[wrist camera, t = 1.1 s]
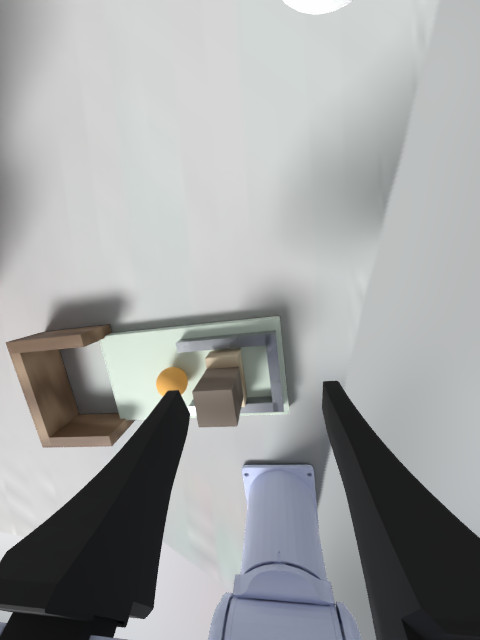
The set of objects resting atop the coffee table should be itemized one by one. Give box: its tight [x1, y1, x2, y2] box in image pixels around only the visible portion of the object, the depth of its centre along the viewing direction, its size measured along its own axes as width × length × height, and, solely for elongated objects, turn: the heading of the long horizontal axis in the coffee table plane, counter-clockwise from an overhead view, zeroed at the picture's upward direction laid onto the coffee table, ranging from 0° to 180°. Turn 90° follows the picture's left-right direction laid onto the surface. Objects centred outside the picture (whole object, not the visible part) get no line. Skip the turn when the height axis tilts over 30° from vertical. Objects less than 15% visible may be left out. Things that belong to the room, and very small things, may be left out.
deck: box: [99, 316, 289, 420], centre depth 24 cm, size 10×19×1 cm, turn 98°
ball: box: [156, 367, 188, 396], centre depth 23 cm, size 3×3×3 cm
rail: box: [176, 330, 284, 415], centre depth 23 cm, size 8×10×1 cm
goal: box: [6, 324, 134, 447], centre depth 25 cm, size 12×8×4 cm
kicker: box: [192, 348, 247, 427], centre depth 20 cm, size 5×3×6 cm, turn 8°
